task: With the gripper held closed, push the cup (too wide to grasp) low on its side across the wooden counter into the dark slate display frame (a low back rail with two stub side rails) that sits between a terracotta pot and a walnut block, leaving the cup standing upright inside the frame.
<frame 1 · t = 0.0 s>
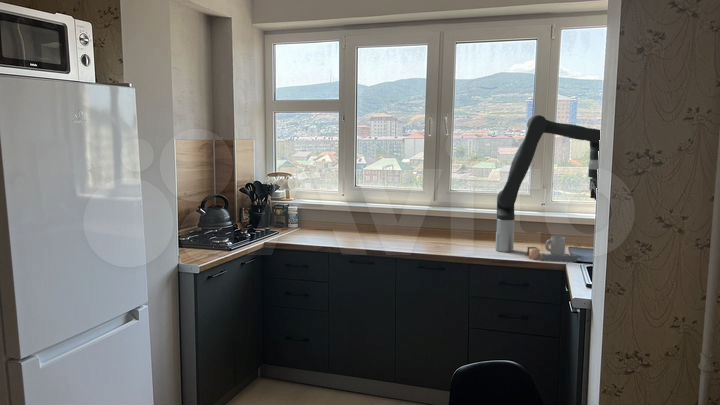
hand: (594, 199, 277), 29 cm above the countertop, fingers open, 8 cm apart
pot: (534, 258, 269), on the countertop
stand: (557, 258, 270), on the countertop
cup: (554, 254, 280), on the countertop
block: (532, 255, 278), on the countertop
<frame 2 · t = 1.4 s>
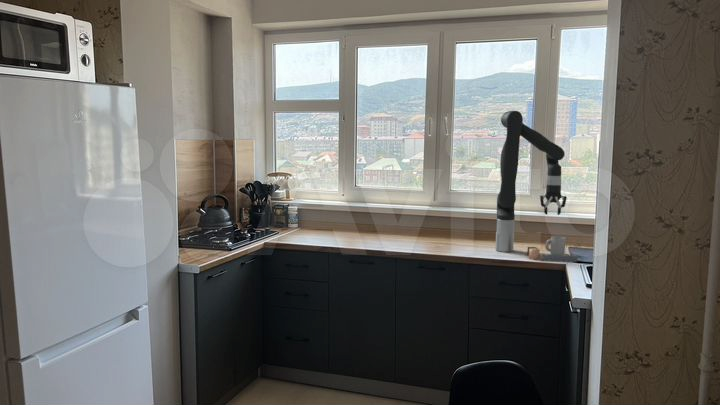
hand: (552, 214, 290), 20 cm above the countertop, fingers open, 5 cm apart
nothing on the countertop moved.
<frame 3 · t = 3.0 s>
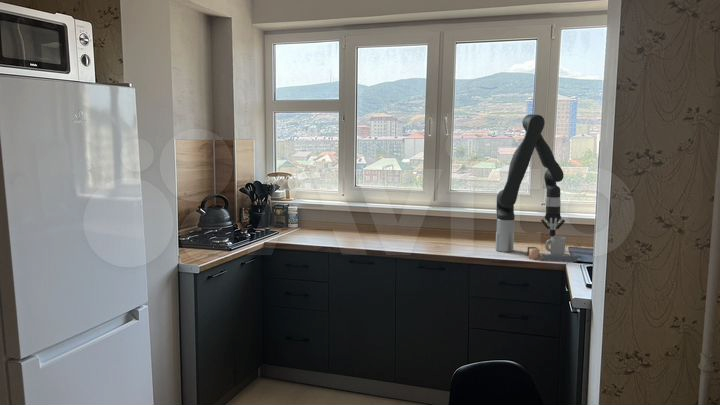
hand: (552, 236, 291), 7 cm above the countertop, fingers closed
nothing on the countertop moved.
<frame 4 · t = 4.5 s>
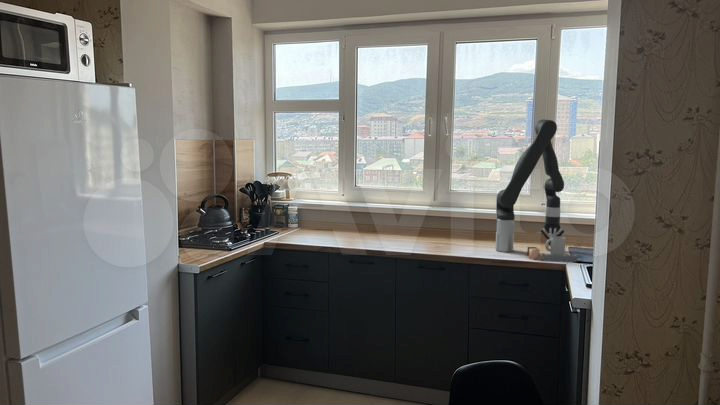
hand: (551, 246, 290), 2 cm above the countertop, fingers closed
nothing on the countertop moved.
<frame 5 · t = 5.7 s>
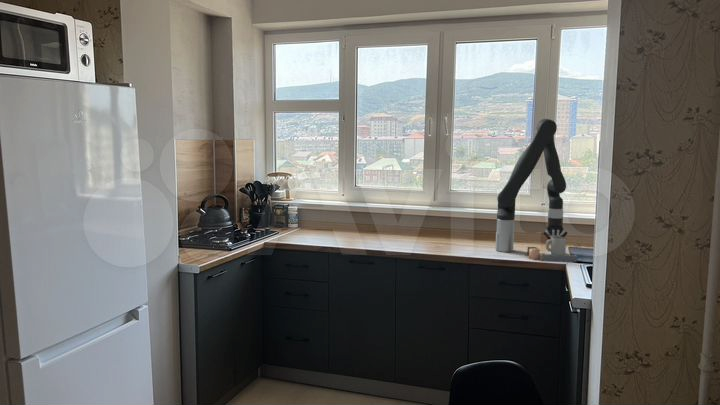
hand: (554, 248, 284), 2 cm above the countertop, fingers closed
cup: (555, 254, 280), on the countertop, touching gripper, hand
everything else where it was.
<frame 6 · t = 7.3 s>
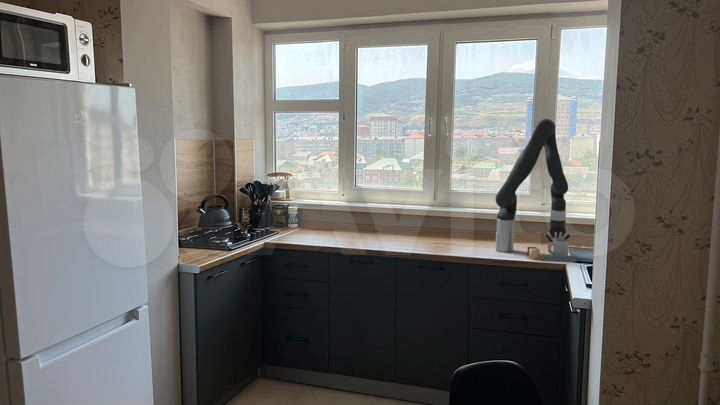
hand: (556, 251, 277), 2 cm above the countertop, fingers closed
cup: (557, 257, 272), on the countertop, touching gripper, hand
everything else where it was.
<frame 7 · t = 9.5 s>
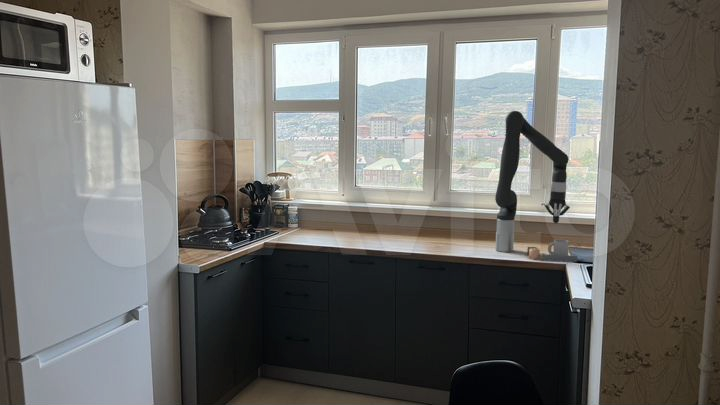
hand: (555, 222, 279), 16 cm above the countertop, fingers closed
cup: (557, 257, 272), on the countertop
everything else where it was.
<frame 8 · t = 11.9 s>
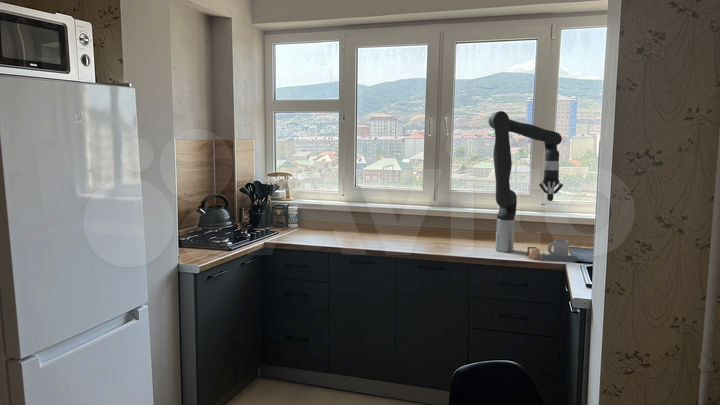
hand: (550, 200, 289), 27 cm above the countertop, fingers closed
nothing on the countertop moved.
at the end: cup inside the target area (2.5 cm from its centre), on the countertop; cup tilted 0°; cup moved 8.8 cm from its start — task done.
